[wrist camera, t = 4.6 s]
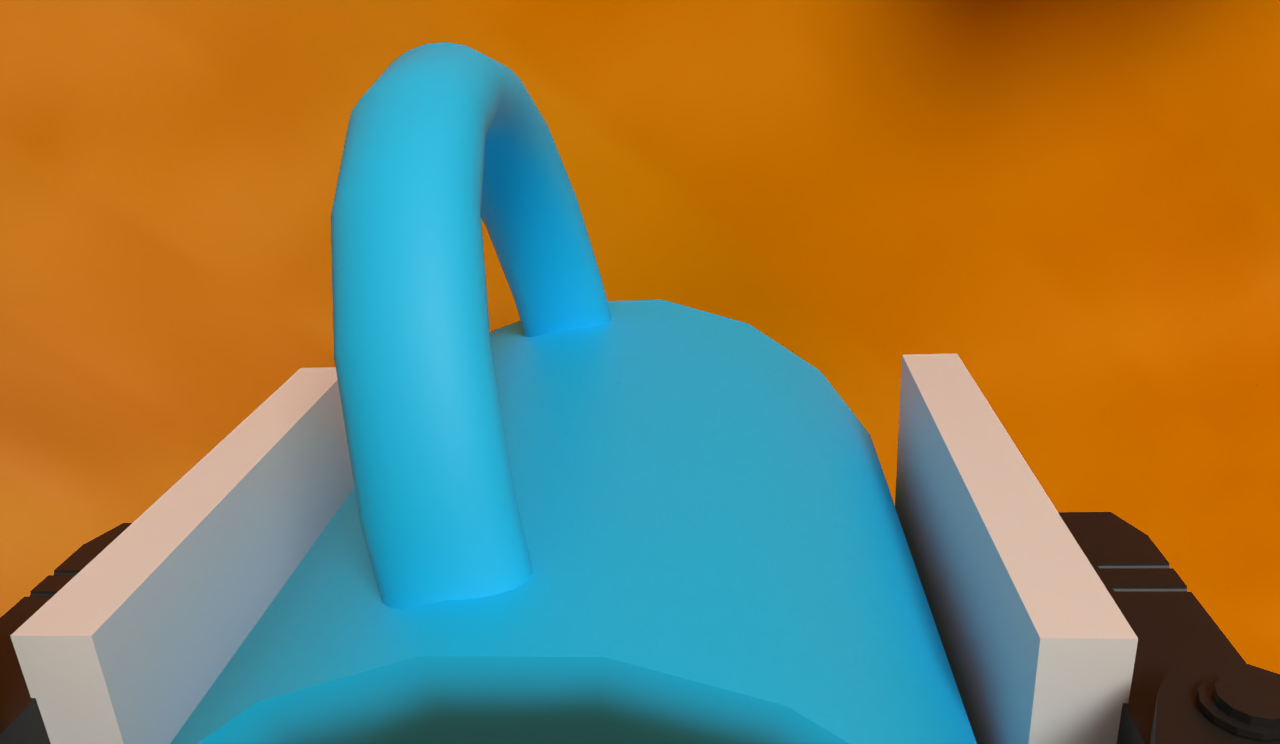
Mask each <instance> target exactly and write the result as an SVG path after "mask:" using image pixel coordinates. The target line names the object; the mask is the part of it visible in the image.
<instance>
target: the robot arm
mask: <svg viewBox="0 0 1280 744" xmlns="http://www.w3.org/2000/svg"><path fill="white" fill-rule="evenodd" d="M353 488H354V481H353V475H352V468H351V462H350V455H349V449H348V443H347V436H346V430H345V423H344V417H343V411H342V404H341V398H340V392H339V385H338V379H337V372H336V367H325V368H300V369H299V370H298V371H297V372H296V373H295V374H294V375H293V376H292V377H290V378H289V379H288V380H287V381H286V382H285V383H284V384H283V385H282V386H281V387H280V388H279V389H277V390H276V391H275V392H274V393H273V394H272V395H271V396H270V397H269V398H268V399H267V400H265V401H264V402H263V403H262V404H261V405H260V406H259V407H258V408H257V409H256V410H255V411H254V412H252V413H251V414H250V415H249V416H248V417H247V418H246V419H245V420H244V421H243V422H242V423H241V424H239V425H238V426H237V427H236V428H235V429H234V430H233V431H232V432H231V433H230V434H229V435H228V436H226V437H225V438H224V439H223V440H222V441H221V442H220V443H219V444H218V445H217V446H216V447H214V448H213V449H212V450H211V451H210V452H209V453H208V454H207V455H206V456H205V457H204V458H203V459H201V460H200V461H199V462H198V463H197V464H196V465H195V466H194V467H193V468H192V469H191V470H190V471H188V472H187V473H186V474H185V475H184V476H183V477H182V478H181V479H180V480H179V481H178V482H177V483H175V484H174V485H173V486H172V487H171V488H170V489H169V490H168V491H167V492H166V493H165V494H163V495H162V496H161V497H160V498H159V499H158V500H157V501H156V502H155V503H154V504H153V505H152V506H150V507H149V508H148V509H147V510H146V511H145V512H144V513H143V514H142V515H141V516H140V517H139V518H137V519H136V520H135V521H134V522H133V523H123V524H121V525H119V526H117V527H116V528H114V529H112V530H110V531H108V532H106V533H104V534H103V535H101V536H99V537H97V538H95V539H93V540H92V541H90V542H88V543H86V544H84V545H83V546H81V547H80V548H79V549H78V550H77V551H76V552H75V553H73V554H72V555H71V556H70V557H69V558H68V559H67V560H66V561H64V562H63V563H62V564H61V565H60V566H59V567H58V568H57V569H55V570H54V576H47V577H46V578H45V579H44V580H43V581H42V582H41V583H40V584H38V585H37V586H36V587H35V588H34V589H33V590H32V591H31V595H30V597H24V598H23V599H21V600H20V601H19V602H18V603H17V604H16V605H15V606H14V607H12V608H11V609H10V610H9V611H8V612H7V613H6V614H5V615H3V616H2V617H1V618H0V744H170V743H171V742H172V740H173V739H174V737H175V736H176V735H177V733H178V732H179V731H180V729H181V728H182V726H183V725H184V724H185V722H186V721H187V719H188V718H189V717H190V715H191V714H192V712H193V711H194V710H195V708H196V707H197V705H198V704H199V703H200V701H201V700H202V698H203V697H204V696H205V694H206V693H207V692H208V690H209V689H210V687H211V686H212V685H213V683H214V682H215V680H216V679H217V678H218V676H219V675H220V673H221V672H222V671H223V669H224V668H225V666H226V665H227V664H228V662H229V661H230V660H231V658H232V657H233V655H234V654H235V653H236V651H237V650H238V648H239V647H240V646H241V644H242V643H243V641H244V640H245V639H246V637H247V636H248V634H249V633H250V632H251V630H252V629H253V628H254V626H255V625H256V623H257V622H258V621H259V619H260V618H261V616H262V615H263V614H264V612H265V611H266V609H267V608H268V607H269V605H270V604H271V602H272V601H273V600H274V598H275V597H276V596H277V594H278V593H279V591H280V590H281V589H282V587H283V586H284V584H285V583H286V582H287V580H288V579H289V577H290V576H291V575H292V573H293V572H294V570H295V569H296V568H297V566H298V565H299V564H300V562H301V561H302V559H303V558H304V557H305V555H306V554H307V552H308V551H309V550H310V548H311V547H312V545H313V544H314V543H315V541H316V540H317V538H318V537H319V536H320V534H321V533H322V531H323V530H324V529H325V527H326V526H327V525H328V523H329V522H330V520H331V519H332V518H333V516H334V515H335V513H336V512H337V511H338V509H339V508H340V506H341V505H342V504H343V502H344V501H345V499H346V498H347V497H348V495H349V494H350V493H351V491H352V490H353ZM895 509H896V511H897V514H898V517H899V520H900V523H901V526H902V529H903V532H904V535H905V537H906V540H907V543H908V546H909V549H910V552H911V555H912V558H913V561H914V563H915V566H916V569H917V572H918V575H919V578H920V581H921V584H922V587H923V589H924V592H925V595H926V598H927V601H928V604H929V607H930V610H931V612H932V615H933V618H934V621H935V624H936V627H937V630H938V633H939V636H940V638H941V641H942V644H943V647H944V650H945V653H946V656H947V659H948V662H949V664H950V667H951V670H952V673H953V676H954V679H955V682H956V685H957V688H958V690H959V693H960V696H961V699H962V702H963V705H964V708H965V711H966V714H967V716H968V719H969V722H970V725H971V728H972V731H973V734H974V737H975V739H976V742H977V744H1280V674H1276V673H1273V672H1270V671H1267V670H1264V669H1261V668H1258V667H1255V666H1252V665H1249V664H1246V662H1245V661H1244V660H1243V659H1242V657H1241V656H1240V655H1239V653H1238V652H1237V651H1236V649H1235V648H1234V647H1233V646H1232V644H1231V643H1230V642H1229V640H1228V639H1227V638H1226V636H1225V635H1224V634H1223V633H1222V631H1221V630H1220V629H1219V627H1218V626H1217V625H1216V624H1215V622H1214V621H1213V620H1212V618H1211V617H1210V616H1209V614H1208V613H1207V612H1206V611H1205V609H1204V608H1203V607H1202V605H1201V604H1200V603H1199V601H1198V600H1197V599H1196V598H1195V596H1194V595H1193V594H1192V592H1187V586H1186V585H1185V583H1184V582H1183V581H1182V579H1181V578H1180V577H1179V576H1178V574H1177V573H1176V572H1175V570H1174V569H1169V563H1168V561H1167V560H1166V559H1165V557H1164V556H1163V555H1162V554H1161V552H1160V551H1159V550H1158V548H1157V547H1156V546H1155V544H1154V543H1153V542H1152V541H1151V539H1150V538H1149V537H1148V535H1146V534H1144V533H1143V532H1141V531H1140V530H1138V529H1136V528H1135V527H1133V526H1132V525H1130V524H1128V523H1127V522H1125V521H1124V520H1122V519H1121V518H1119V517H1117V516H1116V515H1114V514H1113V513H1111V512H1065V513H1058V512H1057V510H1056V509H1055V507H1054V505H1053V504H1052V502H1051V501H1050V499H1049V498H1048V496H1047V494H1046V493H1045V491H1044V490H1043V488H1042V487H1041V485H1040V483H1039V482H1038V480H1037V479H1036V477H1035V476H1034V474H1033V472H1032V471H1031V469H1030V468H1029V466H1028V465H1027V463H1026V461H1025V460H1024V458H1023V457H1022V455H1021V454H1020V452H1019V450H1018V449H1017V447H1016V446H1015V444H1014V443H1013V441H1012V439H1011V438H1010V436H1009V435H1008V433H1007V431H1006V430H1005V428H1004V427H1003V425H1002V424H1001V422H1000V420H999V419H998V417H997V416H996V414H995V413H994V411H993V409H992V408H991V406H990V405H989V403H988V402H987V400H986V398H985V397H984V395H983V394H982V392H981V391H980V389H979V387H978V386H977V384H976V383H975V381H974V380H973V378H972V376H971V375H970V373H969V372H968V370H967V369H966V367H965V365H964V364H963V362H962V361H961V359H960V358H959V356H958V354H913V355H902V370H901V391H900V413H899V434H898V456H897V477H896V499H895Z"/></svg>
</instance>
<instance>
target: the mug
mask: <svg viewBox="0 0 1280 744" xmlns="http://www.w3.org/2000/svg"><path fill="white" fill-rule="evenodd" d="M481 218H482V220H483V222H484V223H485V225H486V228H487V230H488V233H489V235H490V238H491V240H492V243H493V246H494V248H495V251H496V253H497V256H498V258H499V261H500V263H501V266H502V268H503V271H504V274H505V276H506V279H507V281H508V284H509V286H510V289H511V291H512V294H513V297H514V300H515V303H516V306H517V310H518V313H519V316H520V320H521V321H519V322H516V323H513V324H510V325H508V326H505V327H502V328H499V329H496V330H494V331H493V332H491V333H490V331H489V318H488V305H487V292H486V278H485V265H484V252H483V239H482V226H481ZM331 247H332V289H333V330H334V360H335V366H336V372H337V379H338V385H339V392H340V398H341V404H342V411H343V417H344V423H345V430H346V436H347V443H348V449H349V455H350V462H351V468H352V475H353V481H354V488H353V490H352V491H351V493H350V494H349V495H348V497H347V498H346V499H345V501H344V502H343V504H342V505H341V506H340V508H339V509H338V511H337V512H336V513H335V515H334V516H333V518H332V519H331V520H330V522H329V523H328V525H327V526H326V527H325V529H324V530H323V531H322V533H321V534H320V536H319V537H318V538H317V540H316V541H315V543H314V544H313V545H312V547H311V548H310V550H309V551H308V552H307V554H306V555H305V557H304V558H303V559H302V561H301V562H300V564H299V565H298V566H297V568H296V569H295V570H294V572H293V573H292V575H291V576H290V577H289V579H288V580H287V582H286V583H285V584H284V586H283V587H282V589H281V590H280V591H279V593H278V594H277V596H276V597H275V598H274V600H273V601H272V602H271V604H270V605H269V607H268V608H267V609H266V611H265V612H264V614H263V615H262V616H261V618H260V619H259V621H258V622H257V623H256V625H255V626H254V628H253V629H252V630H251V632H250V633H249V634H248V636H247V637H246V639H245V640H244V641H243V643H242V644H241V646H240V647H239V648H238V650H237V651H236V653H235V654H234V655H233V657H232V658H231V660H230V661H229V662H228V664H227V665H226V666H225V668H224V669H223V671H222V672H221V673H220V675H219V676H218V678H217V679H216V680H215V682H214V683H213V685H212V686H211V687H210V689H209V690H208V692H207V693H206V694H205V696H204V697H203V698H202V700H201V701H200V703H199V704H198V705H197V707H196V708H195V710H194V711H193V712H192V714H191V715H190V717H189V718H188V719H187V721H186V722H185V724H184V725H183V726H182V728H181V729H180V731H179V732H178V733H177V735H176V736H175V737H174V739H173V740H172V742H171V743H170V744H977V742H976V739H975V737H974V734H973V731H972V728H971V725H970V722H969V719H968V716H967V714H966V711H965V708H964V705H963V702H962V699H961V696H960V693H959V690H958V688H957V685H956V682H955V679H954V676H953V673H952V670H951V667H950V664H949V662H948V659H947V656H946V653H945V650H944V647H943V644H942V641H941V638H940V636H939V633H938V630H937V627H936V624H935V621H934V618H933V615H932V612H931V610H930V607H929V604H928V601H927V598H926V595H925V592H924V589H923V587H922V584H921V581H920V578H919V575H918V572H917V569H916V566H915V563H914V561H913V558H912V555H911V552H910V549H909V546H908V543H907V540H906V537H905V535H904V532H903V529H902V526H901V523H900V520H899V517H898V514H897V511H896V509H895V506H894V503H893V500H892V497H891V494H890V491H889V488H888V485H887V483H886V480H885V477H884V474H883V471H882V468H881V465H880V462H879V460H878V457H877V454H876V451H875V448H874V445H873V442H872V439H871V436H870V434H869V433H868V432H867V430H866V429H865V428H864V426H863V425H862V424H861V423H860V421H859V420H858V419H857V418H856V416H855V415H854V414H853V412H852V411H851V410H850V409H849V407H848V406H847V405H846V404H845V402H844V401H843V400H842V398H841V397H840V396H839V395H838V393H837V392H836V391H835V389H834V388H833V387H832V386H831V384H830V383H829V382H828V381H827V379H826V378H825V377H824V375H823V374H822V373H821V372H820V371H819V370H818V369H816V368H815V367H813V366H812V365H810V364H809V363H807V362H806V361H804V360H803V359H801V358H800V357H798V356H796V355H795V354H793V353H792V352H790V351H789V350H787V349H786V348H784V347H783V346H781V345H780V344H778V343H777V342H775V341H774V340H772V339H771V338H769V337H768V336H766V335H765V334H763V333H761V332H760V331H758V330H757V329H755V328H754V327H752V326H751V325H749V324H747V323H744V322H740V321H737V320H733V319H729V318H726V317H722V316H719V315H715V314H712V313H708V312H705V311H701V310H697V309H694V308H690V307H687V306H683V305H680V304H676V303H673V302H669V301H665V300H634V301H607V299H606V295H605V291H604V287H603V283H602V279H601V275H600V272H599V269H598V265H597V262H596V259H595V256H594V253H593V249H592V246H591V243H590V240H589V236H588V233H587V230H586V227H585V224H584V220H583V217H582V214H581V211H580V207H579V204H578V201H577V198H576V195H575V193H574V190H573V188H572V185H571V183H570V180H569V178H568V175H567V173H566V170H565V168H564V165H563V163H562V160H561V158H560V155H559V153H558V150H557V148H556V145H555V143H554V140H553V138H552V135H551V133H550V130H549V128H548V125H547V123H546V122H545V120H544V118H543V117H542V115H541V113H540V112H539V110H538V108H537V107H536V105H535V103H534V102H533V100H532V98H531V97H530V95H529V93H528V92H527V90H526V88H525V87H524V85H523V83H522V82H521V80H520V79H519V77H518V76H517V75H516V74H515V73H514V72H513V71H512V70H511V69H510V68H508V67H506V66H504V65H502V64H500V63H499V62H497V61H495V60H493V59H491V58H489V57H487V56H485V55H483V54H481V53H479V52H477V51H475V50H473V49H471V48H469V47H467V46H465V45H459V44H454V43H448V42H442V43H431V44H425V45H422V46H419V47H417V48H414V49H411V50H409V51H407V52H406V53H404V54H403V55H401V56H400V57H399V58H397V59H396V60H395V61H393V62H392V63H391V65H390V66H389V67H388V68H387V69H386V70H385V71H384V73H383V74H382V75H381V76H380V77H379V78H378V79H377V80H376V82H375V83H374V84H373V85H372V86H371V87H370V88H369V90H368V91H367V92H366V93H365V94H364V95H363V96H362V98H361V99H360V100H359V102H358V103H357V105H356V106H355V107H354V109H353V110H352V112H351V116H350V120H349V124H348V129H347V134H346V139H345V145H344V150H343V155H342V161H341V166H340V171H339V177H338V182H337V187H336V193H335V198H334V203H333V209H332V214H331Z"/></svg>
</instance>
